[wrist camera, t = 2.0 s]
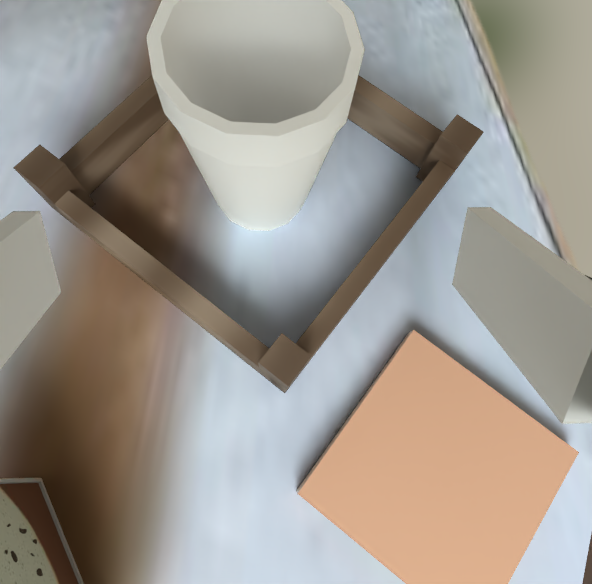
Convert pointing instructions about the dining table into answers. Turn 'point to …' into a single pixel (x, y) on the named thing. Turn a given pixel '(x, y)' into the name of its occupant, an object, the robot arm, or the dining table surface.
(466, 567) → the terracotta tile
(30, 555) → the cake slice
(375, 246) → the frame
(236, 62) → the foam cup
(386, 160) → the dining table surface
